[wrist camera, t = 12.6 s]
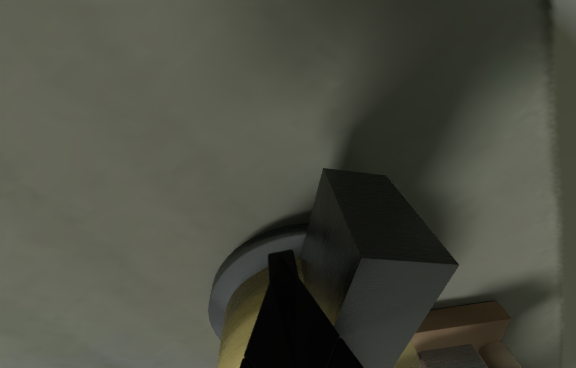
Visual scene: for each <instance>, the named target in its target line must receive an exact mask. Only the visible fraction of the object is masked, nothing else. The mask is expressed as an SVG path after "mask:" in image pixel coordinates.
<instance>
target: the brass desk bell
mask: <svg viewBox="0 0 576 368" xmlns="http://www.w3.org/2000/svg"><path fill="white" fill-rule="evenodd" d="M308 226H309V224H299V225H292V226H287V227H282V228H279V229H275V230H272V231H269V232H266V233H264V234H262V235H259V236H257V237H255V238H253V239H251V240H250V241H248V242H246V243H244V244H243V245H242V246H240V247H239V248H238V249H236V250H235V251H234V252H233V253H232V254H231V255H230V256H229V257H228V258H227V259H226V260H225V261H224V263H223V264H222V265H221V267H220V268H219V270H218V272H217V274H216V276H215V279H214V282H213V285H212V290H211V295H210V300H209V309H208V312H209V320H210V323H211V326H212V328H213V330H214V332H215V334H216V335H217V336H218V337H219V339H220V340H221V335H222V328H223V320H224V313H225V308H226V305H227V303H228V301H229V299H230V297H231V296H232V294H233V293H234V291H235V290H236V289H237V288H238V287H239V286H240V285H241V284H242V283H243V282H244V281H246V280H247V279H248V278H250V277H251V276H253V275H254V274H256V273H257V272H259V271H261V270H263V269H265V268H267V267H268V254H269V253H274V252H281V251H284V250H289V249H292V250H293V251H294V256H295V259H299V258H300V257H301V253H302V249H303V245H304V241H305V237H306V233H307V229H308Z"/></svg>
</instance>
